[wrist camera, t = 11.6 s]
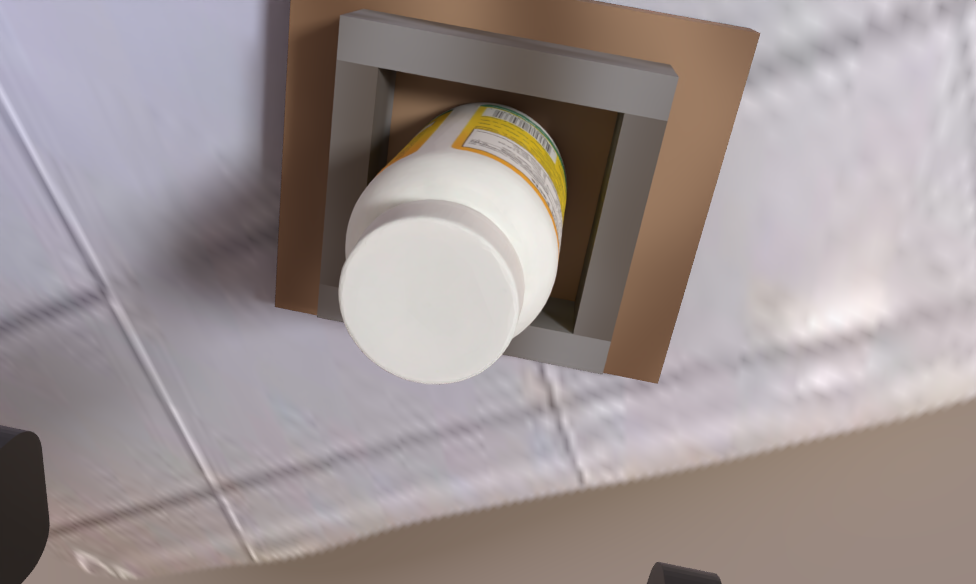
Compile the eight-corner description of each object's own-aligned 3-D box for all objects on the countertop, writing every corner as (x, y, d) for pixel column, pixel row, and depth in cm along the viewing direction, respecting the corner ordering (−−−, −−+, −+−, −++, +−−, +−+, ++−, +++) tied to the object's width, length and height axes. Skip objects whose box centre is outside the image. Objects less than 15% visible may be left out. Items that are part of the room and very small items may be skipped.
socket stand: (289, 290, 30) (247, 337, 26) (309, -51, 25) (260, -51, 21) (654, 363, 29) (663, 422, 25) (750, 28, 24) (779, 42, 20)
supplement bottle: (557, 88, 24) (539, 169, 15) (575, 251, 26) (568, 404, 17) (389, 110, 25) (280, 199, 16) (419, 266, 27) (337, 419, 18)
